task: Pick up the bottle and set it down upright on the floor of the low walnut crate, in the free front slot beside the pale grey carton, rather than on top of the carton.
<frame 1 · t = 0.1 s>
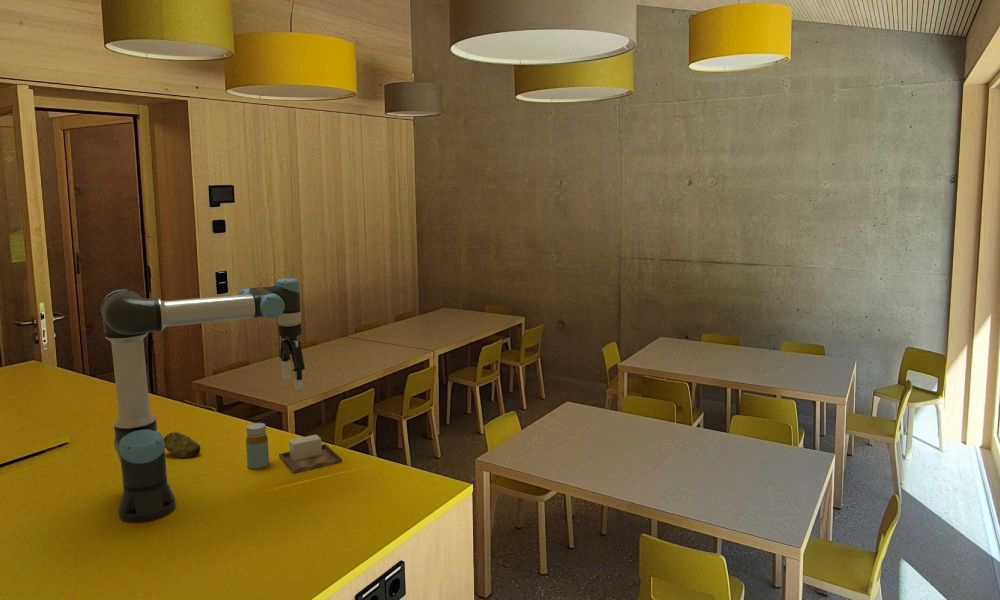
hand: (292, 383, 239), 28 cm above the table, fingers open, 13 cm apart
tote: (310, 461, 242), on the table
bottle: (258, 467, 237), on the table
carton: (305, 455, 246), point 1 cm above the table, touching tote
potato: (182, 455, 248), on the table
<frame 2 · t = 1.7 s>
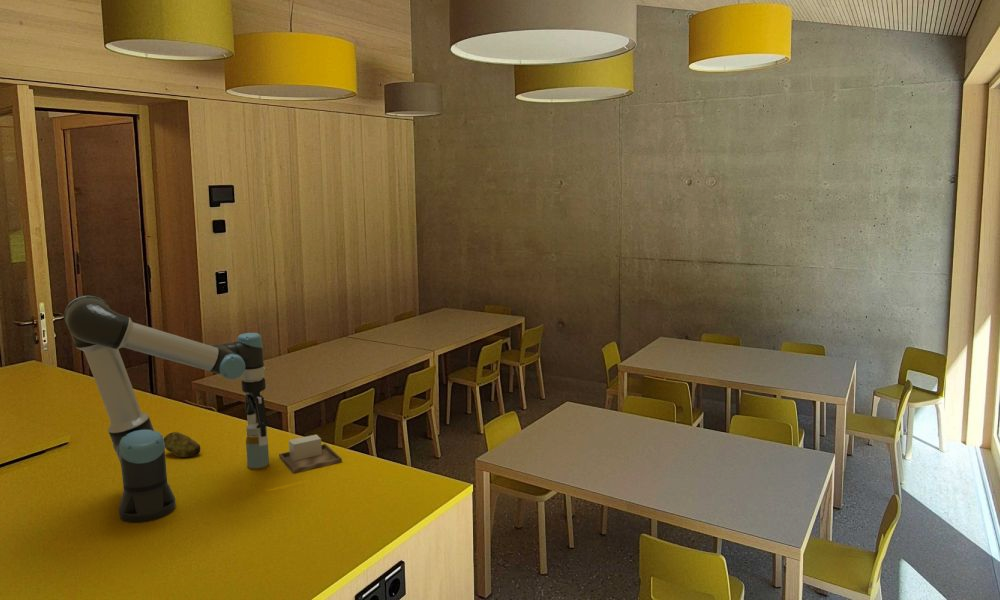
hand: (258, 438, 236), 10 cm above the table, fingers open, 13 cm apart
nothing on the table moved.
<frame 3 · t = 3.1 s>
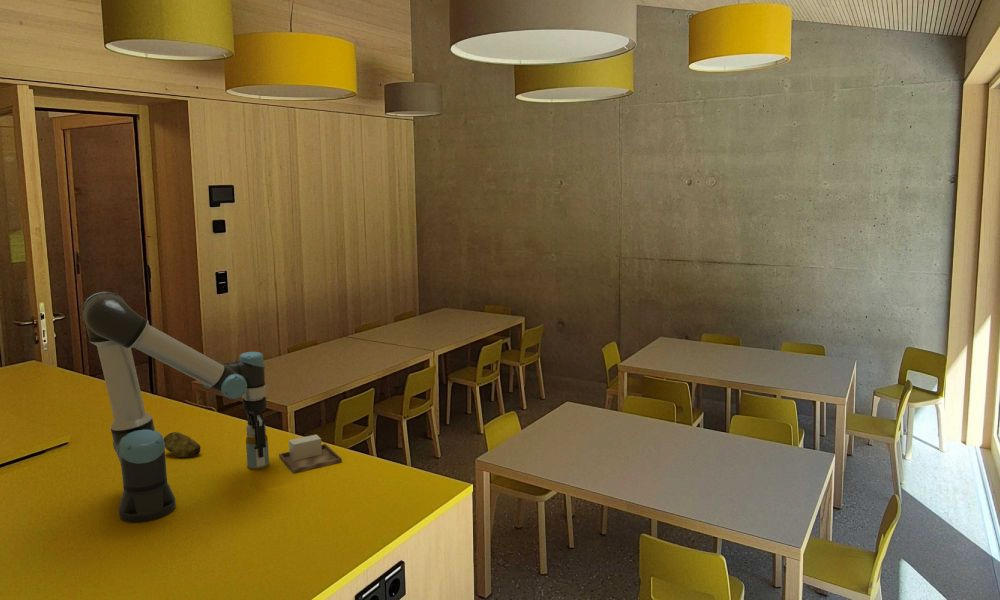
hand: (258, 462, 237), 2 cm above the table, fingers closed on bottle, 6 cm apart
bottle: (258, 467, 237), on the table, touching gripper
everything else where it was.
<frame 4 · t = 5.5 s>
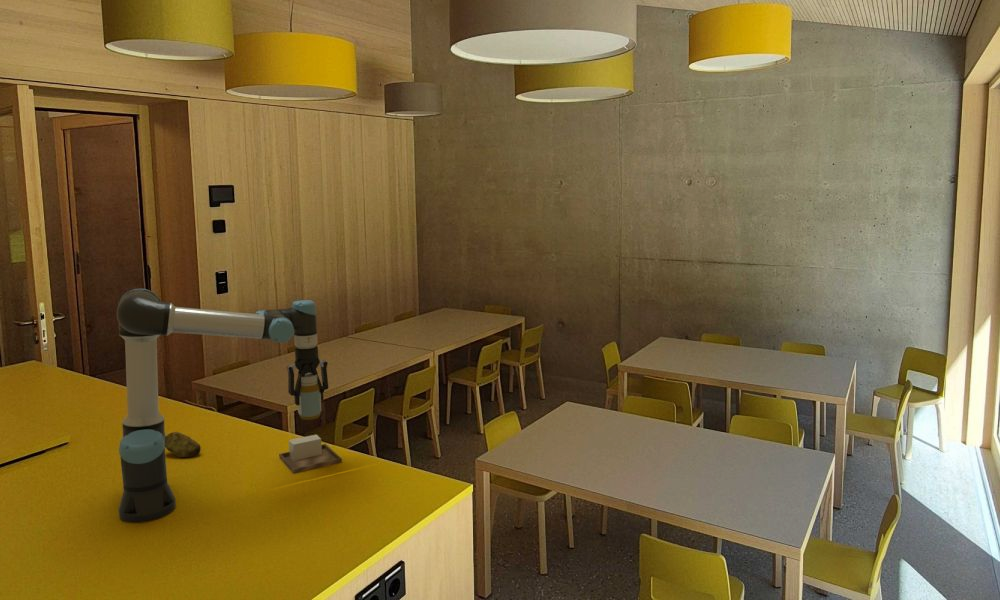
hand: (309, 411, 236), 19 cm above the table, fingers closed on bottle, 6 cm apart
bottle: (310, 417, 237), point 17 cm above the table, touching gripper
everything else where it was.
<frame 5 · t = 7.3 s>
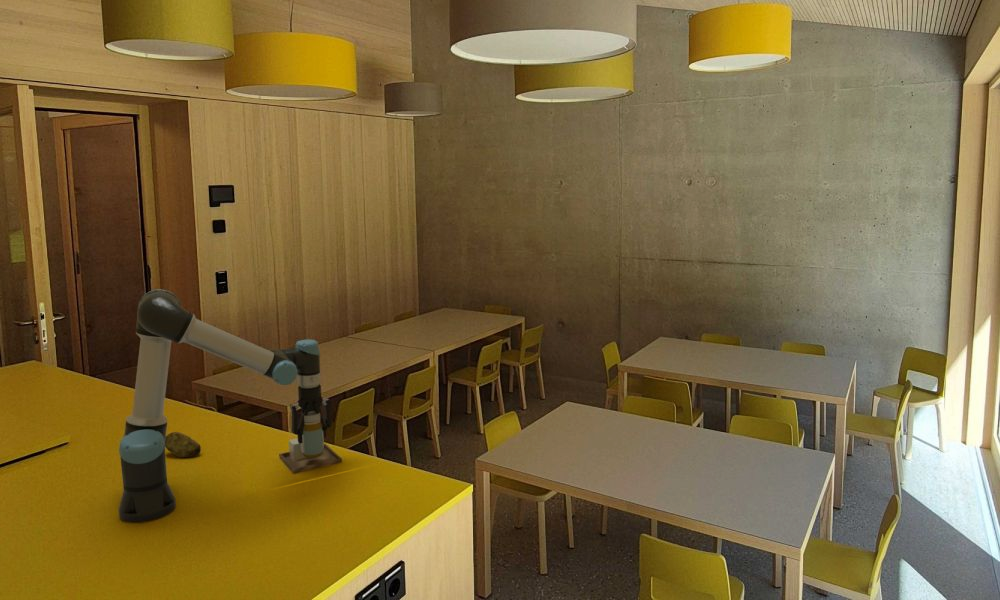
hand: (312, 449, 239), 6 cm above the table, fingers closed on bottle, 6 cm apart
bottle: (312, 455, 239), point 3 cm above the table, touching gripper
everything else where it was.
when the fingers open (2 cm above the table, at t = 8.2 s): bottle stays where it is, resting on tote.
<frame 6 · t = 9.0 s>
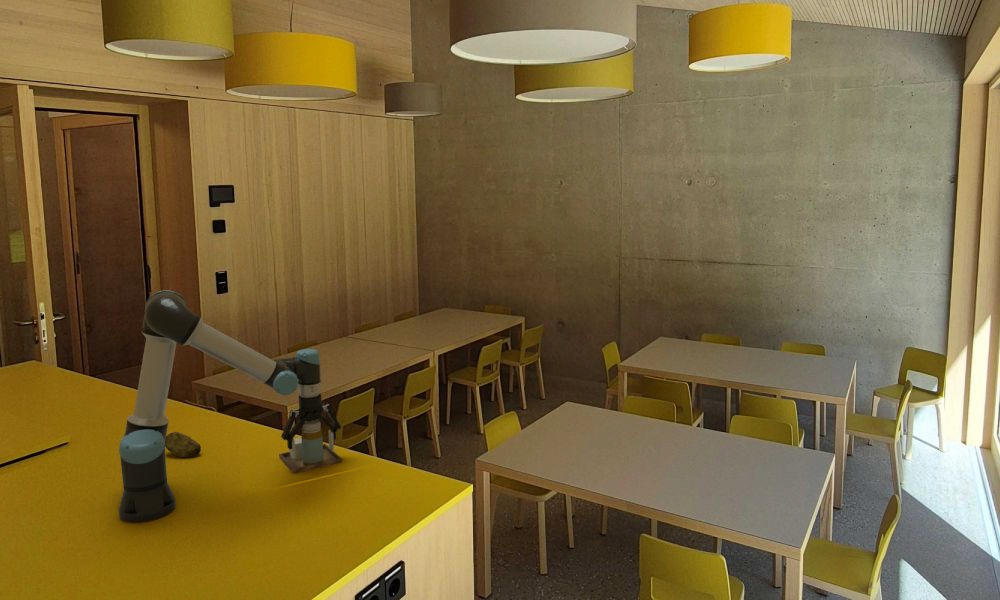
hand: (312, 453, 239), 4 cm above the table, fingers open, 13 cm apart
bottle: (313, 463, 240), resting on tote
everything else where it was.
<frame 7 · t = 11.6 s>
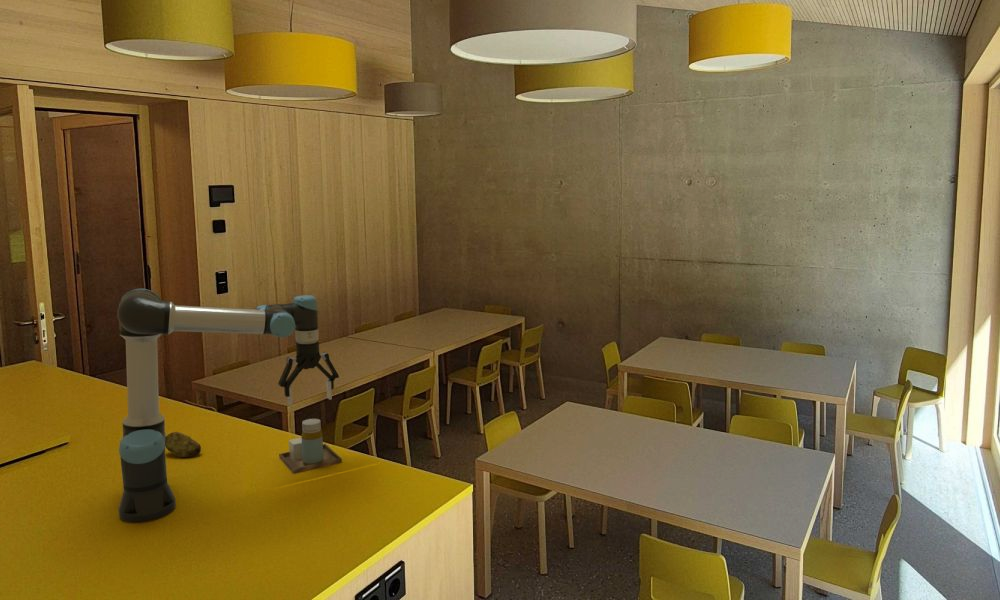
hand: (310, 402, 236), 23 cm above the table, fingers open, 13 cm apart
nothing on the table moved.
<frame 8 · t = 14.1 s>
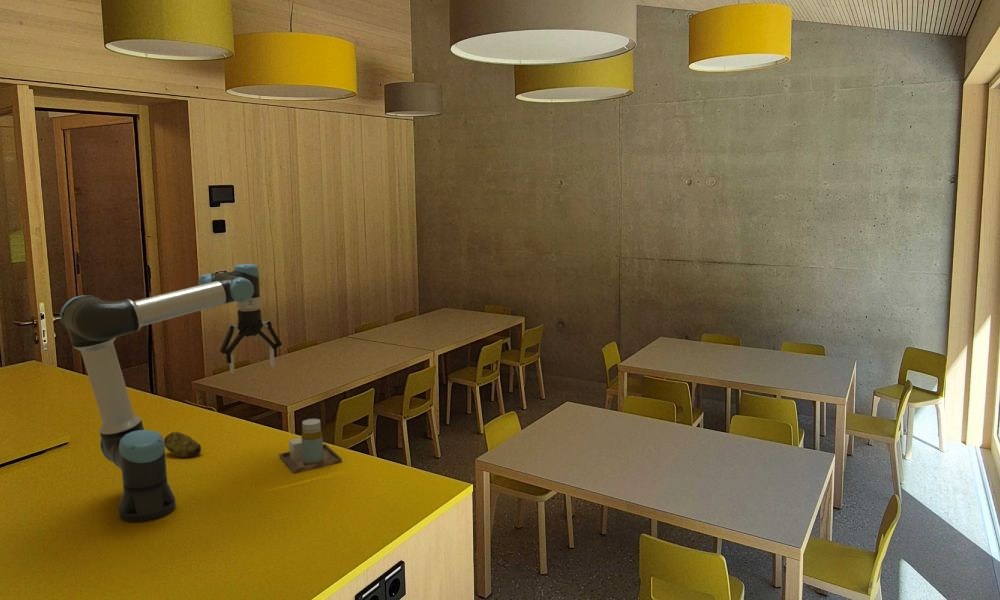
hand: (252, 369, 239), 33 cm above the table, fingers open, 13 cm apart
nothing on the table moved.
at the end: bottle inside the target area on the tote (0.2 cm from its centre), point 0.4 cm above the tote's base; bottle tilted 0°; bottle touching tote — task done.
